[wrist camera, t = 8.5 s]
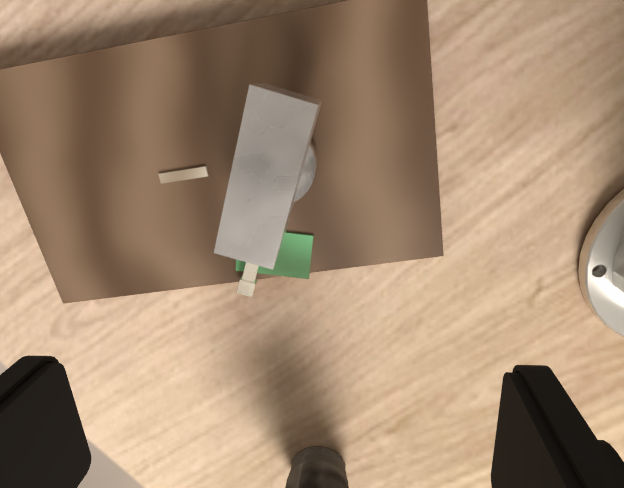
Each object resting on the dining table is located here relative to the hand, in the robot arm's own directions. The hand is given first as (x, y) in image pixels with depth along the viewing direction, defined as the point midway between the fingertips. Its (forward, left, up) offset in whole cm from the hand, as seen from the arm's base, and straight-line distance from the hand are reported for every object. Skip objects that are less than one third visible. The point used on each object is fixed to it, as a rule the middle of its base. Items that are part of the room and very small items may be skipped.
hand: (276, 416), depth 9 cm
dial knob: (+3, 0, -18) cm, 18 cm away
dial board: (+6, -3, -20) cm, 21 cm away
